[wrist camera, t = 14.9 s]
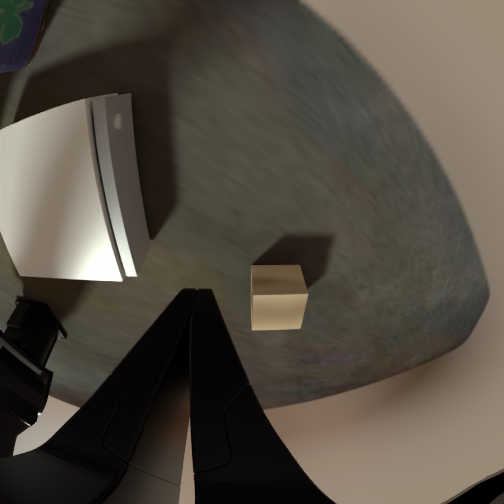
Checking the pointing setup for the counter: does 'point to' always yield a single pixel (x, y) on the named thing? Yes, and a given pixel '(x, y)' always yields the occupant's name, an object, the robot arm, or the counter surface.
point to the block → (277, 297)
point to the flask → (20, 32)
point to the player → (56, 197)
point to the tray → (121, 178)
